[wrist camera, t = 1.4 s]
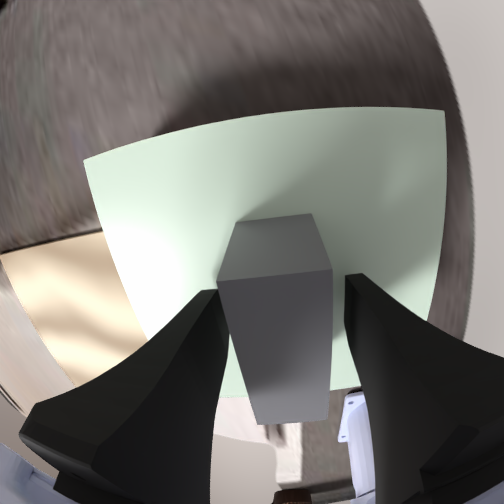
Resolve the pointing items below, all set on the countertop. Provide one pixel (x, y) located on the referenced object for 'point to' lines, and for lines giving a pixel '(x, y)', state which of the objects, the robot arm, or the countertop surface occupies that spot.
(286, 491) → the coffee mug
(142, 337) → the mat
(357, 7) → the countertop surface
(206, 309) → the robot arm
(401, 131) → the lid
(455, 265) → the countertop surface
